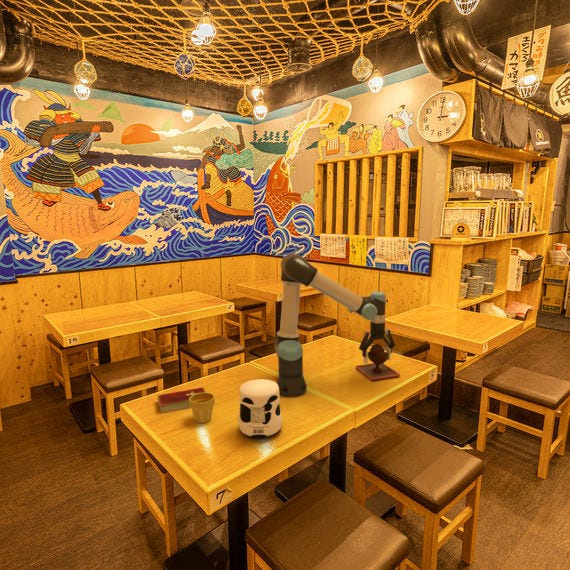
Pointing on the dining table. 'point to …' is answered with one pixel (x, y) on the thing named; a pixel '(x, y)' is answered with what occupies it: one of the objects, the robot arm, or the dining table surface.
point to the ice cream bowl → (377, 357)
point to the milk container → (259, 408)
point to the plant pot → (202, 406)
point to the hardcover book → (177, 399)
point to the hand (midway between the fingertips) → (377, 361)
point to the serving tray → (372, 376)
